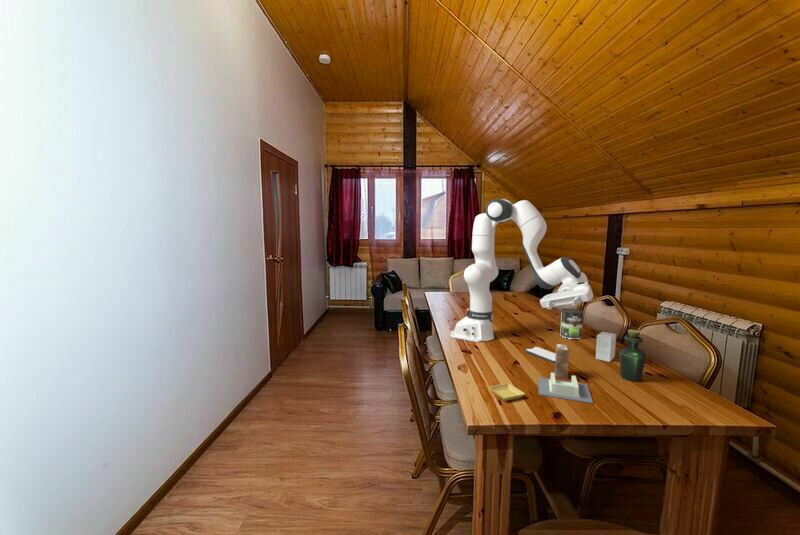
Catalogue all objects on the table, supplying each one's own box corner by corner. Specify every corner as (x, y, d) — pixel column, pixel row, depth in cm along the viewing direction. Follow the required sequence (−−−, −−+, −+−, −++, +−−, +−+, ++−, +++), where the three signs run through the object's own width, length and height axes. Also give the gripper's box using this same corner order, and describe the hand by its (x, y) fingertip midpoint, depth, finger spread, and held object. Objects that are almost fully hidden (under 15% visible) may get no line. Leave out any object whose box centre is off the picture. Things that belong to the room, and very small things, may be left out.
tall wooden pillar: (555, 377, 126) (556, 348, 125) (554, 371, 131) (556, 343, 130) (567, 379, 124) (568, 349, 123) (566, 373, 130) (567, 344, 129)
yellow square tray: (508, 388, 118) (508, 382, 118) (525, 399, 110) (526, 393, 110) (487, 392, 115) (488, 386, 115) (503, 404, 107) (504, 398, 107)
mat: (538, 394, 112) (538, 393, 112) (538, 378, 125) (538, 377, 125) (593, 403, 107) (593, 402, 106) (586, 385, 119) (587, 384, 119)
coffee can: (585, 340, 170) (586, 313, 168) (563, 339, 171) (564, 312, 170) (577, 334, 180) (579, 308, 178) (557, 333, 182) (558, 307, 180)
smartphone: (567, 361, 144) (536, 349, 158) (568, 357, 144) (536, 346, 157) (554, 365, 139) (523, 352, 153) (554, 361, 139) (523, 349, 153)
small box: (600, 354, 151) (601, 331, 150) (615, 357, 147) (616, 333, 146) (595, 358, 145) (596, 335, 144) (609, 362, 141) (611, 337, 140)
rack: (549, 392, 113) (550, 383, 113) (548, 380, 122) (549, 372, 122) (579, 397, 110) (580, 388, 109) (576, 384, 119) (577, 376, 119)
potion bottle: (638, 384, 120) (641, 335, 118) (613, 376, 127) (616, 330, 125) (648, 379, 124) (651, 332, 122) (623, 371, 131) (627, 326, 129)
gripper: (543, 290, 152) (532, 303, 142) (591, 281, 137) (583, 294, 128) (548, 302, 153) (538, 316, 143) (597, 294, 138) (589, 309, 128)
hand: (560, 306), depth 135 cm, fingers open, 8 cm apart
